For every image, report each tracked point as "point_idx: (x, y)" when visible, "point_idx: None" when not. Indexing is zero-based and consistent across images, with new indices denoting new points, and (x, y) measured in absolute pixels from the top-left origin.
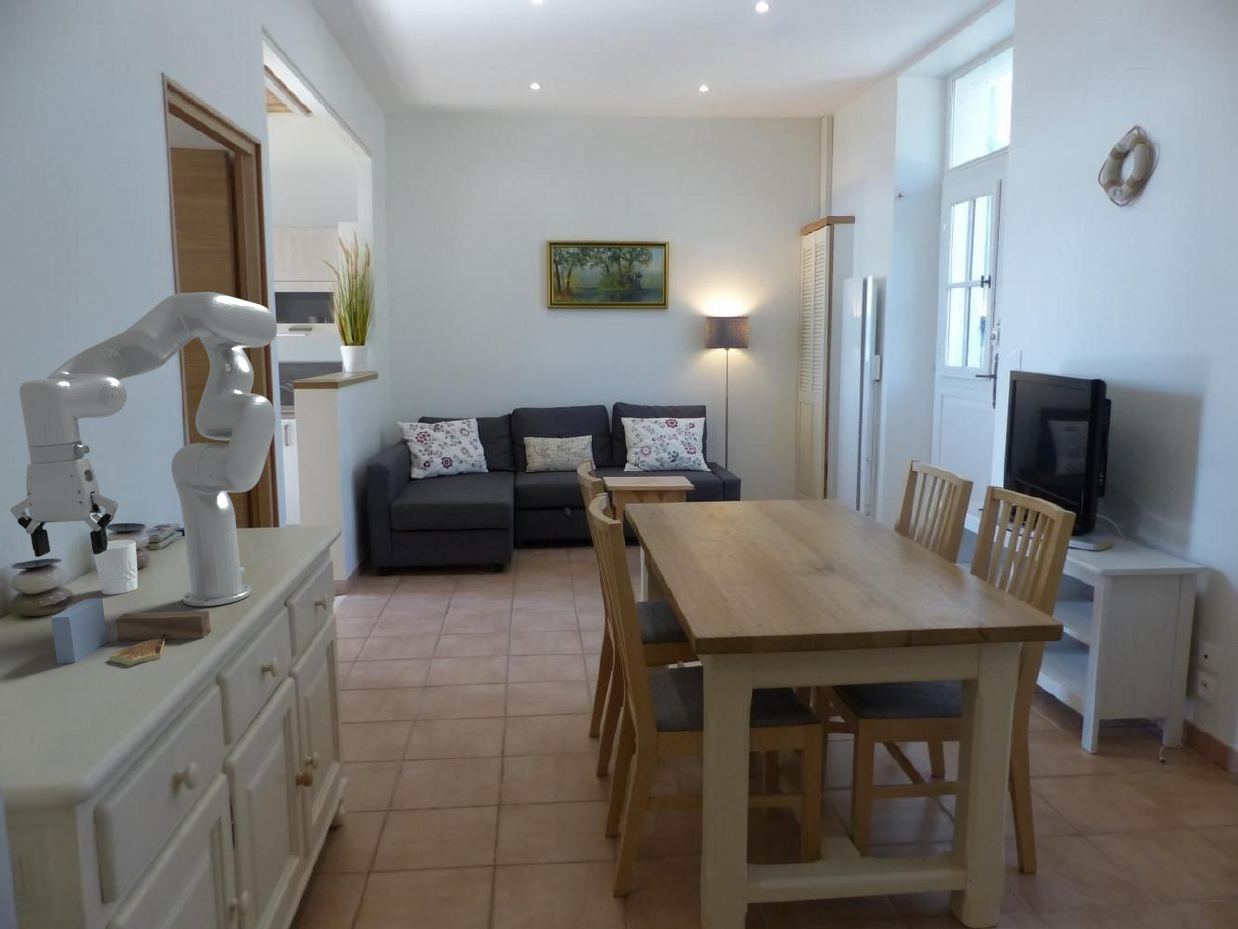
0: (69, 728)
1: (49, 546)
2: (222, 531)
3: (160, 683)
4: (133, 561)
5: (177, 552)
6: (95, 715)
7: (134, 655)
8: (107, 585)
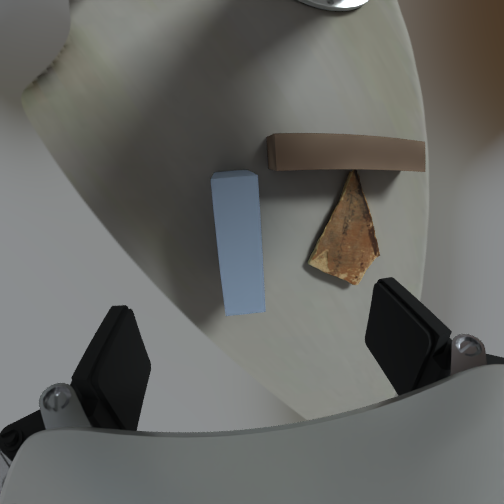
0: (348, 403)
1: (123, 319)
2: None
3: None
4: None
5: None
6: (360, 385)
7: (353, 272)
8: None
